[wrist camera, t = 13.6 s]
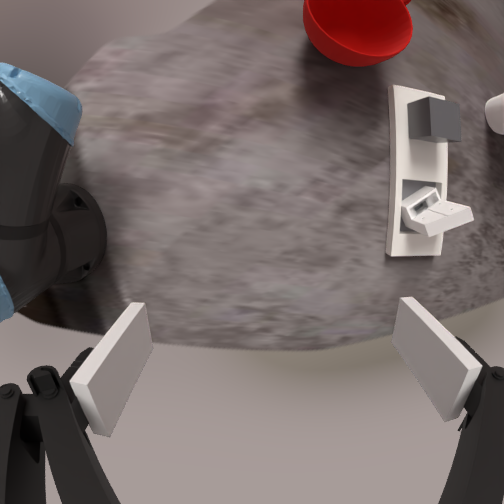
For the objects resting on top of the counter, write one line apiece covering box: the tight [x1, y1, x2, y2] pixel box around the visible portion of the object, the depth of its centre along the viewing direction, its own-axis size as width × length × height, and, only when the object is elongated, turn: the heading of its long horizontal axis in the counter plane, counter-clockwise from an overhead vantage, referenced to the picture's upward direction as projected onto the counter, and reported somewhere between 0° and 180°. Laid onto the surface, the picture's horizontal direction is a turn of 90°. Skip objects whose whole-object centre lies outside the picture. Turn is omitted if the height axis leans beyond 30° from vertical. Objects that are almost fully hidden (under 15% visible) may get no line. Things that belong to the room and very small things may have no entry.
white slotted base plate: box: [385, 85, 461, 256], centre depth 34 cm, size 9×24×8 cm, turn 1°
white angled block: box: [401, 186, 474, 237], centre depth 35 cm, size 4×10×9 cm, turn 122°
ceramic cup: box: [303, 0, 413, 67], centre depth 28 cm, size 13×17×10 cm
